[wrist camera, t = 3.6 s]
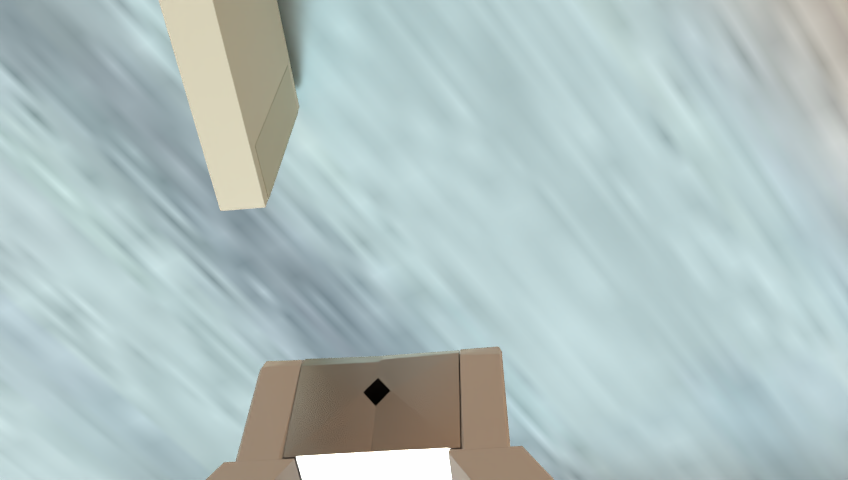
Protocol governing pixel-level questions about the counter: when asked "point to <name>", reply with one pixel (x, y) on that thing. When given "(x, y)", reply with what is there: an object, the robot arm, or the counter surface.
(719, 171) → the counter surface
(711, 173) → the counter surface
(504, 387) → the robot arm
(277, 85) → the gate
